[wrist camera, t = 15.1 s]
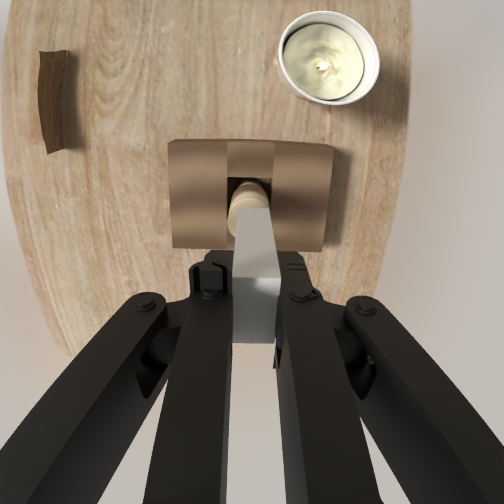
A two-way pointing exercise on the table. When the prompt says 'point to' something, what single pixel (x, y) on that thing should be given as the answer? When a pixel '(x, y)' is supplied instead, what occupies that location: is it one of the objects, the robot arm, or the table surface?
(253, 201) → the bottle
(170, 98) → the table surface
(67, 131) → the table surface
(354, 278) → the table surface
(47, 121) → the wood plank
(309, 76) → the candle holder
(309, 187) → the wooden block with hole
